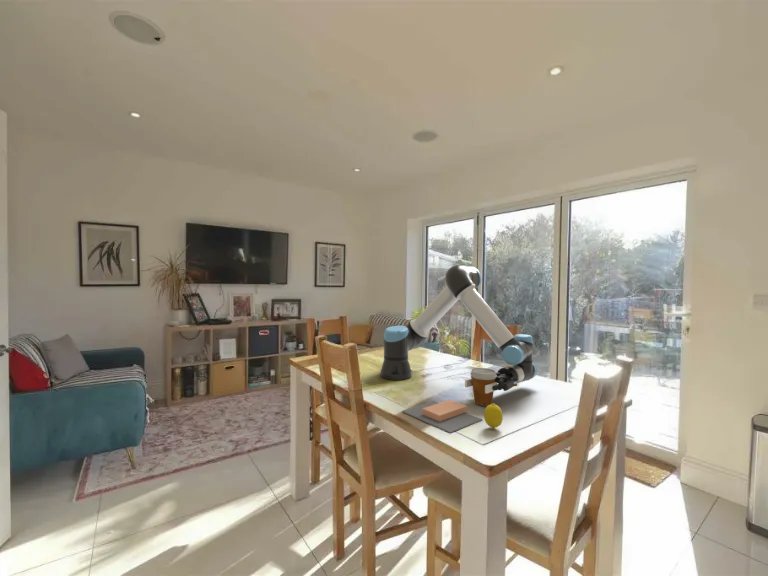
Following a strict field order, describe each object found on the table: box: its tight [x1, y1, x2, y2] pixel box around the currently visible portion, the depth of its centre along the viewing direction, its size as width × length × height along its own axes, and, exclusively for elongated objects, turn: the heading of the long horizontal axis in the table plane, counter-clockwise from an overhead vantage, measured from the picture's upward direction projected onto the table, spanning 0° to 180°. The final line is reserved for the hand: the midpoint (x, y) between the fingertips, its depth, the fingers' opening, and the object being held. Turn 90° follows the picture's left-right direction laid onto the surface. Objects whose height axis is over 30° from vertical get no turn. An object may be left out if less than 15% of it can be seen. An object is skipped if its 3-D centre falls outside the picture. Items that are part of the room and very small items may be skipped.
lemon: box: [483, 402, 504, 430], centre depth 111 cm, size 6×6×8 cm
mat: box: [402, 400, 483, 434], centre depth 121 cm, size 22×16×1 cm
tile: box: [422, 399, 468, 422], centre depth 123 cm, size 8×2×14 cm
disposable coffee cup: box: [469, 367, 497, 407], centre depth 133 cm, size 10×10×12 cm
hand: (475, 386), depth 130 cm, fingers closed on disposable coffee cup, 8 cm apart
